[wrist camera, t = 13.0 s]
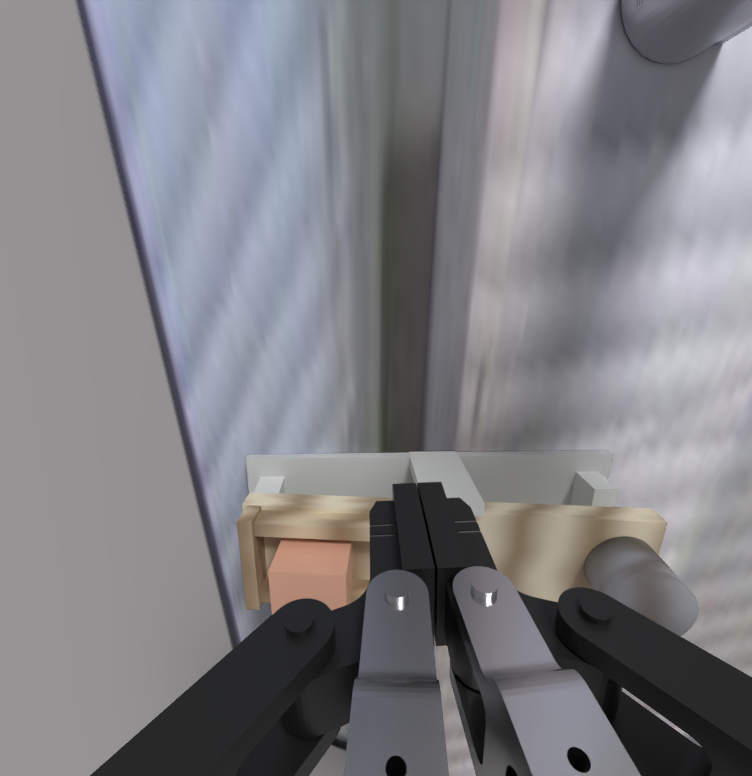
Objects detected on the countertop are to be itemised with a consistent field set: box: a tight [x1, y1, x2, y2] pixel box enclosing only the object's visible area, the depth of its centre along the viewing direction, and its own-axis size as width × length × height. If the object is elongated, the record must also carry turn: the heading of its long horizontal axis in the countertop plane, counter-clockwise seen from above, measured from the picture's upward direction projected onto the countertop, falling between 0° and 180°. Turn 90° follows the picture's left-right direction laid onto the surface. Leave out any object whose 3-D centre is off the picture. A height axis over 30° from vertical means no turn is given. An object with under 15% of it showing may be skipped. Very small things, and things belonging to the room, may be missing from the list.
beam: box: [237, 492, 699, 636], centre depth 33 cm, size 36×9×7 cm, turn 89°
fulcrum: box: [246, 450, 618, 516], centre depth 38 cm, size 38×12×10 cm, turn 89°
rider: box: [268, 538, 354, 615], centre depth 33 cm, size 6×5×5 cm
